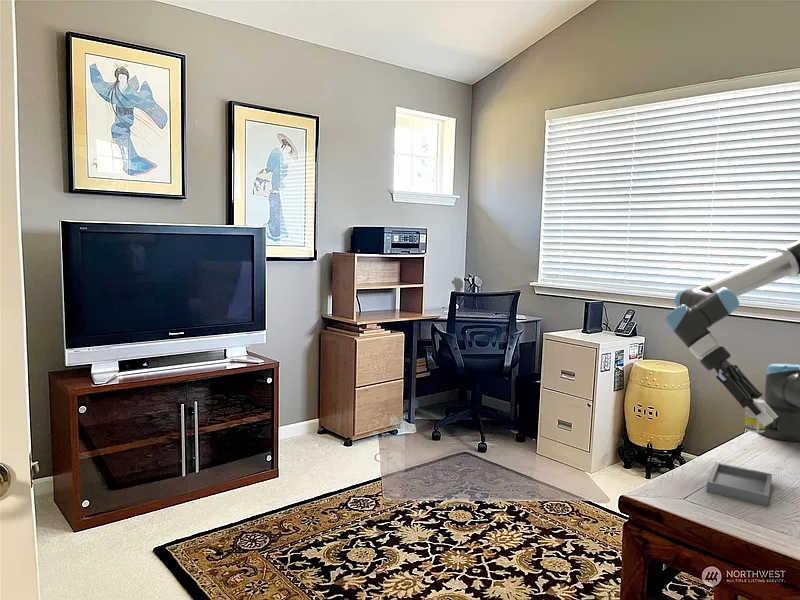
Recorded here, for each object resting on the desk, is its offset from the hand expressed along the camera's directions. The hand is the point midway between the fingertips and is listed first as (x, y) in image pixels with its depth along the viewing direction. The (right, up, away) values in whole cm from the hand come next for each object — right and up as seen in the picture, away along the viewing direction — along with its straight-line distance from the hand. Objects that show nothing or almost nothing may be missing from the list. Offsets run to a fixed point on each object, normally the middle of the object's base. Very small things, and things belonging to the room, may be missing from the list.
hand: (771, 421), depth 161 cm
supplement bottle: (-3, -3, +3) cm, 5 cm away
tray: (-15, -14, -11) cm, 23 cm away
